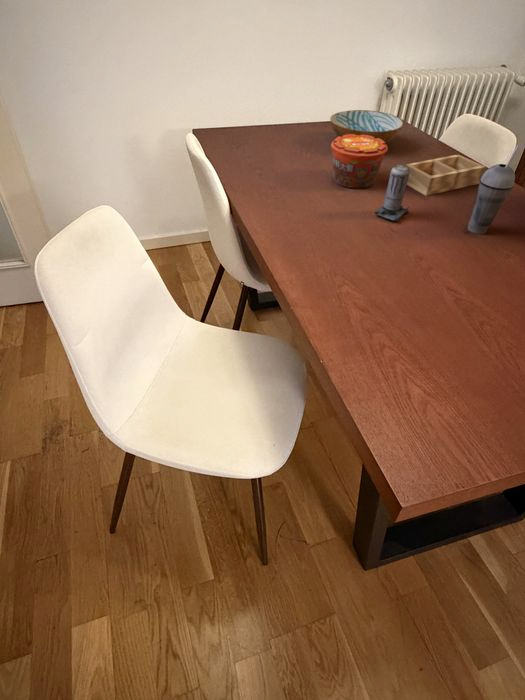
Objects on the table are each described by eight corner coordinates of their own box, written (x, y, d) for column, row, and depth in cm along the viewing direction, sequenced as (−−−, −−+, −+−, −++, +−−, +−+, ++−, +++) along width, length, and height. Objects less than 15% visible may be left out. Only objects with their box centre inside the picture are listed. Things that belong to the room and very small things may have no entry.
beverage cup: (466, 219, 104) (499, 136, 90) (495, 228, 101) (534, 142, 87) (457, 230, 100) (490, 144, 85) (488, 239, 97) (527, 152, 82)
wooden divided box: (452, 170, 127) (458, 154, 124) (479, 183, 120) (485, 166, 117) (400, 181, 121) (405, 164, 117) (425, 195, 114) (431, 178, 110)
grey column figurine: (380, 205, 109) (391, 159, 101) (409, 211, 107) (422, 164, 98) (371, 219, 103) (382, 171, 95) (401, 226, 101) (415, 178, 93)
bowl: (314, 147, 141) (316, 122, 135) (346, 129, 156) (349, 106, 150) (381, 163, 131) (387, 136, 125) (408, 142, 146) (414, 117, 140)
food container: (345, 195, 113) (351, 155, 106) (317, 174, 124) (321, 137, 116) (391, 186, 118) (400, 147, 111) (360, 167, 128) (367, 130, 121)
